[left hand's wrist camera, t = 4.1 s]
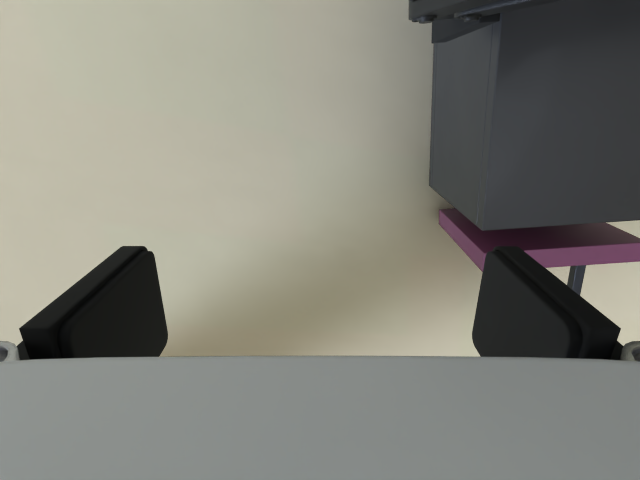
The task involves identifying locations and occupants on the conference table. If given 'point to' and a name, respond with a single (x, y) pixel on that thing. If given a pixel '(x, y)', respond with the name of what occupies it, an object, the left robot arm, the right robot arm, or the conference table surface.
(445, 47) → the cabinet
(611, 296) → the conference table surface
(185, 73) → the conference table surface
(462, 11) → the right robot arm
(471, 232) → the drawer
